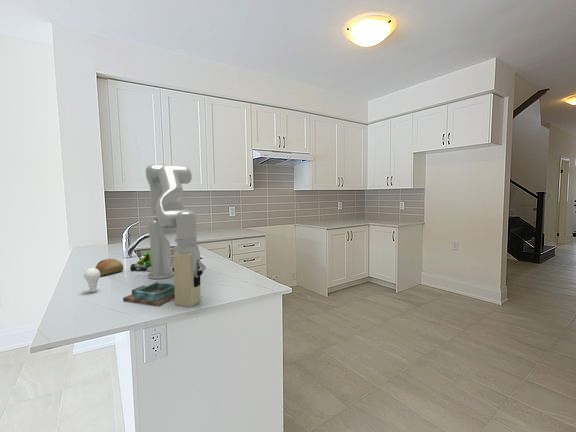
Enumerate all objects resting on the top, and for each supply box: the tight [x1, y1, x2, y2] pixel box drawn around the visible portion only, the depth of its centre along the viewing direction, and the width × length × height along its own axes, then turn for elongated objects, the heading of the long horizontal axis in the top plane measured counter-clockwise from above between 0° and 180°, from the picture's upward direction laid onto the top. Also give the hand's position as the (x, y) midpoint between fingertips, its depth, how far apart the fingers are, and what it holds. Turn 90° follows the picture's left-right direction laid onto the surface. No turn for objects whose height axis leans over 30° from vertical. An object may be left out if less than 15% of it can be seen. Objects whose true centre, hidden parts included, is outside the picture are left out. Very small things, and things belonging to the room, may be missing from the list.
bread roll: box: [94, 258, 124, 277], centre depth 160 cm, size 10×15×8 cm, turn 156°
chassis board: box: [122, 281, 175, 307], centre depth 124 cm, size 18×14×4 cm
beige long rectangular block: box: [173, 251, 202, 308], centre depth 117 cm, size 8×7×21 cm
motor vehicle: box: [129, 247, 151, 272], centre depth 173 cm, size 12×19×11 cm, turn 178°
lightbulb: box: [83, 267, 101, 293], centre depth 130 cm, size 6×6×11 cm
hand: (188, 284), depth 118 cm, fingers closed on beige long rectangular block, 8 cm apart
